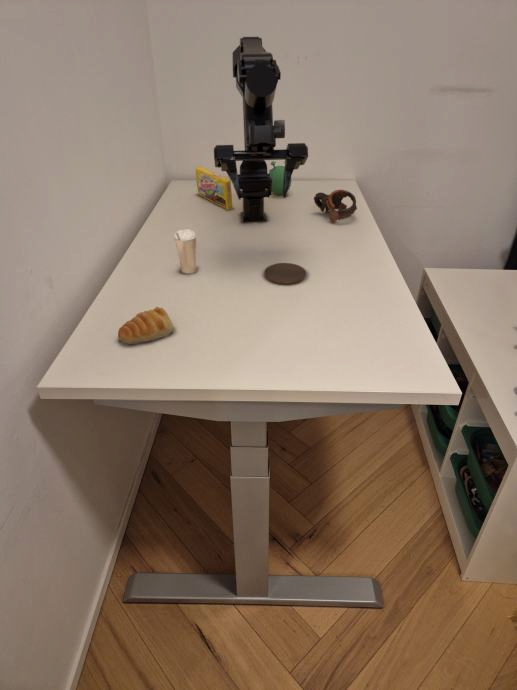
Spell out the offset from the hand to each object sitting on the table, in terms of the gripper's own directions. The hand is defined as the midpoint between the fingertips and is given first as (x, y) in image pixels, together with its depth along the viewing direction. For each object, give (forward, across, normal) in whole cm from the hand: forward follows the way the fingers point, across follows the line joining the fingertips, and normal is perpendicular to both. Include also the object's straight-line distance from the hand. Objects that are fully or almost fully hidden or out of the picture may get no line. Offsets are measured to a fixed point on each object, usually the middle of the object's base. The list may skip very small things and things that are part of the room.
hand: (262, 198), depth 95 cm
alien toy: (-12, +9, +48) cm, 51 cm away
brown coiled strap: (-2, +22, +32) cm, 39 cm away
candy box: (-10, -11, +44) cm, 46 cm away
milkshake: (+14, -16, +8) cm, 23 cm away
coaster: (+15, +5, +4) cm, 17 cm away
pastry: (+26, -22, -12) cm, 36 cm away
